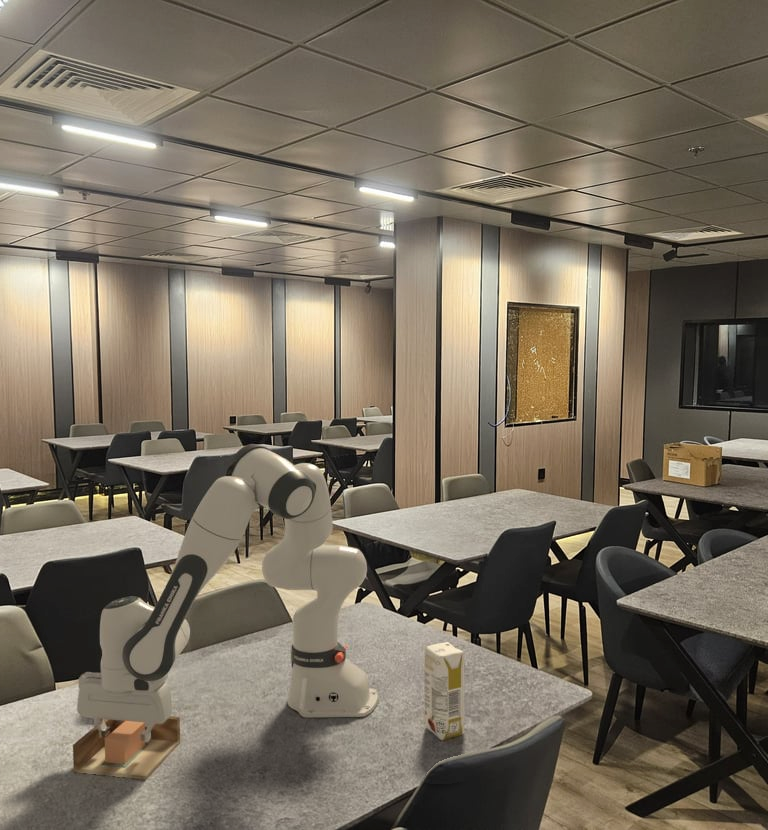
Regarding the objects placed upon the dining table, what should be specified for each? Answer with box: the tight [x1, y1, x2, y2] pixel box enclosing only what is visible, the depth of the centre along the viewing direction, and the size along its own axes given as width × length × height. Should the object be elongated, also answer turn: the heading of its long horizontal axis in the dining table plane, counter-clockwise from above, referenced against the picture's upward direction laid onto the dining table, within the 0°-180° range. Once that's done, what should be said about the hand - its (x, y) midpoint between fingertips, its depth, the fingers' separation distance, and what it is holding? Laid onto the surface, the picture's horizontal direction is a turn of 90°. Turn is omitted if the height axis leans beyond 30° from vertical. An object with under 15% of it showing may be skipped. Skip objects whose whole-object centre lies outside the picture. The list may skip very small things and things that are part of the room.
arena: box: [72, 715, 181, 781], centre depth 153 cm, size 16×15×6 cm
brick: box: [105, 721, 145, 764], centre depth 153 cm, size 8×4×5 cm, turn 168°
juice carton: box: [424, 641, 466, 741], centre depth 164 cm, size 8×9×19 cm
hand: (125, 738), depth 153 cm, fingers open, 8 cm apart
